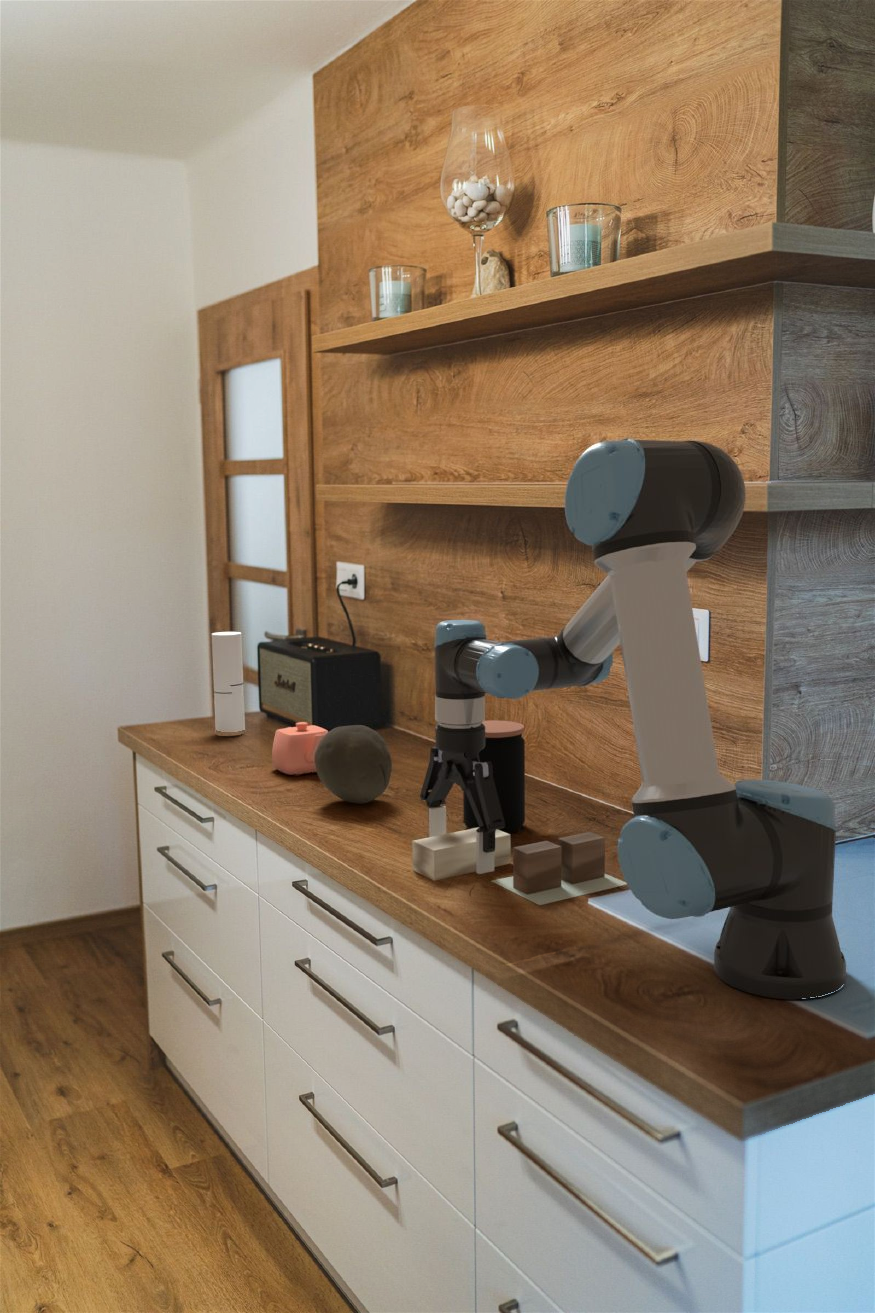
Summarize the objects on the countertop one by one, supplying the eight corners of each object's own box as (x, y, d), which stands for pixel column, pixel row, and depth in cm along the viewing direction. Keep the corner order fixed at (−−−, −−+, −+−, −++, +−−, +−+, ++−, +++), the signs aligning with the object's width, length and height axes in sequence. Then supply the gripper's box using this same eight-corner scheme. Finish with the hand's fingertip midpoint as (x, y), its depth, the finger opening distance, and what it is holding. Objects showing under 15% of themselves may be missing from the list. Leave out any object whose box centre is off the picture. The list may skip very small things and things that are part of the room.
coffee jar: (488, 815, 207) (487, 717, 205) (536, 825, 201) (536, 724, 198) (451, 829, 199) (449, 727, 197) (500, 840, 193) (500, 735, 190)
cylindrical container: (249, 734, 282) (245, 633, 278) (222, 738, 278) (218, 635, 275) (238, 730, 288) (234, 631, 284) (211, 733, 284) (207, 633, 281)
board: (628, 891, 167) (628, 883, 167) (539, 913, 159) (539, 905, 158) (577, 869, 177) (577, 862, 177) (491, 888, 169) (491, 880, 169)
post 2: (604, 877, 170) (604, 837, 169) (572, 884, 167) (572, 844, 166) (589, 870, 173) (590, 832, 172) (557, 877, 170) (557, 838, 169)
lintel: (510, 872, 177) (510, 834, 176) (434, 890, 169) (433, 850, 168) (487, 862, 182) (487, 825, 181) (412, 879, 174) (412, 840, 173)
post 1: (561, 887, 166) (561, 846, 165) (527, 894, 162) (527, 853, 162) (546, 880, 169) (546, 840, 168) (513, 887, 165) (513, 847, 165)
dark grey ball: (379, 791, 226) (377, 716, 224) (401, 808, 213) (400, 729, 211) (309, 798, 221) (306, 721, 219) (327, 816, 208) (325, 735, 206)
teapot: (312, 760, 254) (310, 713, 252) (347, 776, 238) (346, 727, 237) (263, 766, 248) (261, 719, 247) (296, 784, 233) (295, 733, 231)
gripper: (529, 735, 164) (528, 878, 167) (438, 707, 185) (439, 834, 188) (485, 741, 160) (485, 887, 163) (398, 712, 181) (399, 842, 184)
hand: (460, 859), depth 175 cm, fingers open, 13 cm apart
